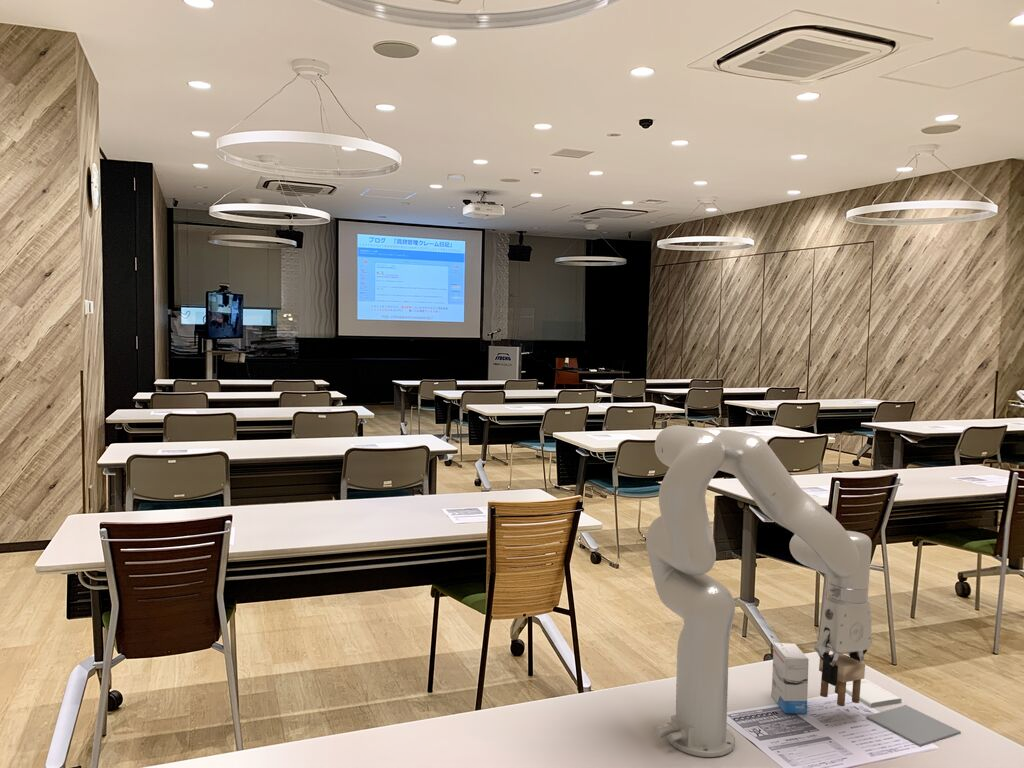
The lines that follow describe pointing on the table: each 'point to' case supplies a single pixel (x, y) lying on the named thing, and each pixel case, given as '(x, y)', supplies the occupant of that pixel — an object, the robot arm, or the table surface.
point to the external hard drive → (873, 694)
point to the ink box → (790, 678)
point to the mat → (913, 725)
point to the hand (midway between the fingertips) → (841, 679)
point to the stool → (845, 678)
